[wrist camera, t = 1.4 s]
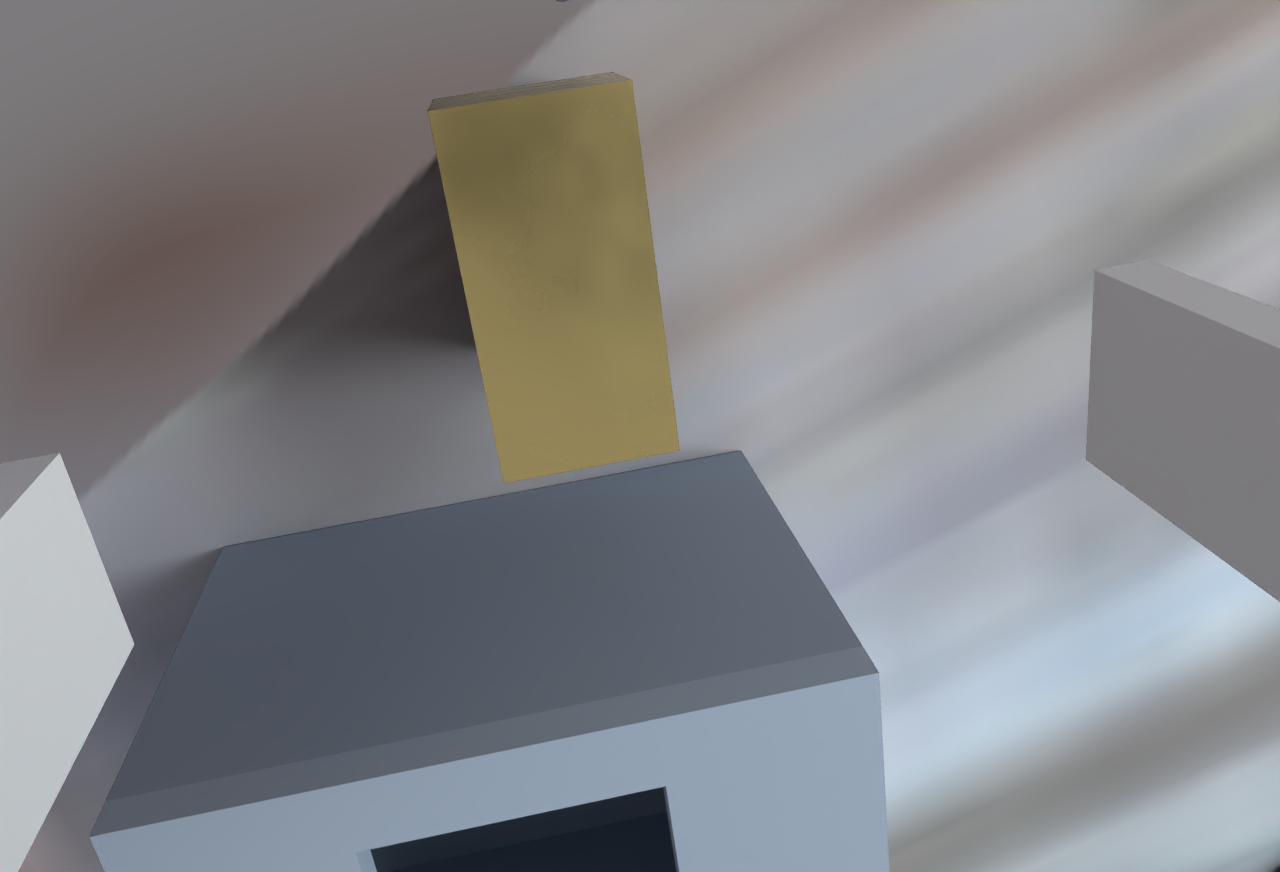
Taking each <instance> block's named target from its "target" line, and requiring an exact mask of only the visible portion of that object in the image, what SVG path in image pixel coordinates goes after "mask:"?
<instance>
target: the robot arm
mask: <svg viewBox="0 0 1280 872" xmlns="http://www.w3.org/2000/svg"><path fill="white" fill-rule="evenodd" d="M1086 460H1087V461H1089V462H1090V463H1091V464H1093V465H1094V466H1095V467H1097V468H1098V469H1099V470H1101V471H1102V472H1103V473H1105V474H1106V475H1108V476H1109V477H1110V478H1112V479H1113V480H1114V481H1116V482H1117V483H1118V484H1120V485H1121V486H1123V487H1124V488H1125V489H1127V490H1128V491H1129V492H1131V493H1132V494H1133V495H1135V496H1136V497H1138V498H1139V499H1140V500H1142V501H1143V502H1144V503H1146V504H1147V505H1148V506H1150V507H1151V508H1153V509H1154V510H1155V511H1157V512H1158V513H1159V514H1161V515H1162V516H1163V517H1165V518H1166V519H1168V520H1169V521H1170V522H1172V523H1173V524H1174V525H1176V526H1177V527H1178V528H1180V529H1181V530H1183V531H1184V532H1185V533H1187V534H1188V535H1189V536H1191V537H1192V538H1193V539H1195V540H1196V541H1198V542H1199V543H1200V544H1202V545H1203V546H1204V547H1206V548H1207V549H1208V550H1210V551H1211V552H1213V553H1214V554H1215V555H1217V556H1218V557H1219V558H1221V559H1222V560H1223V561H1225V562H1226V563H1228V564H1229V565H1230V566H1232V567H1233V568H1234V569H1236V570H1237V571H1238V572H1240V573H1241V574H1242V575H1244V576H1245V577H1247V578H1248V579H1249V580H1251V581H1252V582H1253V583H1255V584H1256V585H1257V586H1259V587H1260V588H1262V589H1263V590H1264V591H1266V592H1267V593H1268V594H1270V595H1271V596H1272V597H1274V598H1275V599H1277V600H1278V601H1279V602H1280V309H1278V308H1275V307H1272V306H1270V305H1267V304H1264V303H1262V302H1259V301H1256V300H1254V299H1251V298H1248V297H1246V296H1243V295H1240V294H1238V293H1235V292H1232V291H1230V290H1227V289H1224V288H1222V287H1219V286H1216V285H1214V284H1211V283H1208V282H1206V281H1203V280H1200V279H1198V278H1195V277H1192V276H1190V275H1187V274H1184V273H1182V272H1179V271H1176V270H1174V269H1171V268H1168V267H1166V266H1163V265H1160V264H1158V263H1155V262H1152V261H1150V260H1148V261H1142V262H1137V263H1131V264H1125V265H1120V266H1114V267H1108V268H1103V269H1097V270H1094V291H1093V313H1092V335H1091V357H1090V379H1089V401H1088V423H1087V445H1086ZM133 646H134V642H133V639H132V637H131V634H130V632H129V629H128V627H127V624H126V622H125V619H124V616H123V614H122V611H121V609H120V606H119V604H118V601H117V599H116V596H115V593H114V591H113V588H112V586H111V583H110V581H109V578H108V576H107V573H106V570H105V568H104V565H103V563H102V560H101V558H100V555H99V553H98V550H97V547H96V545H95V542H94V540H93V537H92V535H91V532H90V530H89V527H88V524H87V522H86V519H85V517H84V514H83V512H82V509H81V507H80V504H79V501H78V499H77V496H76V494H75V491H74V489H73V486H72V484H71V481H70V479H69V476H68V473H67V471H66V468H65V466H64V463H63V461H62V458H61V456H60V453H57V454H51V455H45V456H40V457H34V458H28V459H22V460H17V461H11V462H5V463H0V872H18V871H19V869H20V867H21V865H22V863H23V862H24V860H25V858H26V856H27V854H28V852H29V850H30V848H31V846H32V844H33V842H34V840H35V838H36V836H37V834H38V832H39V830H40V828H41V826H42V824H43V822H44V820H45V818H46V817H47V815H48V813H49V811H50V809H51V807H52V805H53V803H54V801H55V799H56V797H57V795H58V793H59V791H60V789H61V787H62V785H63V783H64V781H65V779H66V777H67V775H68V773H69V772H70V770H71V768H72V766H73V764H74V762H75V760H76V758H77V756H78V754H79V752H80V750H81V748H82V746H83V744H84V742H85V740H86V738H87V736H88V734H89V732H90V730H91V728H92V727H93V725H94V723H95V721H96V719H97V717H98V715H99V713H100V711H101V709H102V707H103V705H104V703H105V701H106V699H107V697H108V695H109V693H110V691H111V689H112V687H113V685H114V683H115V682H116V680H117V678H118V676H119V674H120V672H121V670H122V668H123V666H124V664H125V662H126V660H127V658H128V656H129V654H130V652H131V650H132V648H133Z"/></svg>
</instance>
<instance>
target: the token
mask: <svg viewBox="0 0 1280 872" xmlns="http://www.w3.org/2000/svg"><path fill="white" fill-rule="evenodd" d="M428 115H429V120H430V125H431V130H432V135H433V140H434V144H435V150H436V155H437V159H438V164H439V169H440V174H441V179H442V184H443V189H444V193H445V198H446V203H447V208H448V213H449V218H450V223H451V228H452V232H453V237H454V242H455V247H456V252H457V257H458V262H459V267H460V271H461V276H462V281H463V286H464V291H465V296H466V301H467V306H468V310H469V315H470V320H471V325H472V330H473V335H474V340H475V345H476V349H477V354H478V359H479V364H480V369H481V374H482V379H483V384H484V388H485V393H486V398H487V403H488V408H489V413H490V418H491V423H492V427H493V432H494V437H495V442H496V447H497V452H498V457H499V461H500V466H501V471H502V476H503V481H504V483H508V482H513V481H519V480H524V479H529V478H535V477H540V476H546V475H551V474H556V473H562V472H567V471H573V470H578V469H583V468H589V467H594V466H600V465H605V464H610V463H616V462H621V461H627V460H632V459H637V458H643V457H648V456H654V455H659V454H664V453H670V452H675V451H680V448H679V440H678V432H677V425H676V417H675V409H674V401H673V394H672V386H671V378H670V371H669V363H668V355H667V347H666V340H665V332H664V324H663V317H662V309H661V301H660V293H659V286H658V278H657V270H656V262H655V255H654V247H653V239H652V232H651V224H650V216H649V208H648V201H647V193H646V185H645V178H644V170H643V162H642V154H641V147H640V139H639V131H638V124H637V116H636V108H635V100H634V93H633V85H632V80H631V79H628V78H626V77H624V76H621V75H619V74H616V73H614V72H609V73H602V74H596V75H589V76H583V77H576V78H570V79H563V80H556V81H550V82H543V83H537V84H530V85H523V86H517V87H510V88H504V89H497V90H491V91H484V92H478V93H471V94H464V95H458V96H451V97H445V98H438V99H433V100H432V103H431V104H430V107H429V109H428Z"/></svg>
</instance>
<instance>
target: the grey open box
mask: <svg viewBox="0 0 1280 872" xmlns="http://www.w3.org/2000/svg"><path fill="white" fill-rule="evenodd" d="M89 838H90V841H91V843H92V845H93V847H94V850H95V852H96V854H97V856H98V859H99V861H100V863H101V865H102V868H103V870H104V872H889V855H888V836H887V816H886V797H885V778H884V758H883V739H882V720H881V701H880V681H879V672H878V670H877V669H876V667H875V665H874V664H873V662H872V661H871V659H870V657H869V656H868V654H867V653H866V651H865V649H864V648H863V646H862V645H861V643H860V641H859V640H858V638H857V636H856V635H855V633H854V632H853V630H852V628H851V627H850V625H849V624H848V622H847V620H846V619H845V617H844V616H843V614H842V612H841V611H840V609H839V607H838V606H837V604H836V603H835V601H834V599H833V598H832V596H831V595H830V593H829V591H828V590H827V588H826V587H825V585H824V583H823V582H822V580H821V578H820V577H819V575H818V574H817V572H816V570H815V569H814V567H813V566H812V564H811V562H810V561H809V559H808V558H807V556H806V554H805V553H804V551H803V549H802V548H801V546H800V545H799V543H798V541H797V540H796V538H795V537H794V535H793V533H792V532H791V530H790V529H789V527H788V525H787V524H786V522H785V520H784V519H783V517H782V516H781V514H780V512H779V511H778V509H777V508H776V506H775V504H774V503H773V501H772V500H771V498H770V496H769V495H768V493H767V491H766V490H765V488H764V487H763V485H762V483H761V482H760V480H759V479H758V477H757V475H756V474H755V472H754V471H753V469H752V467H751V466H750V464H749V462H748V461H747V459H746V458H745V456H744V454H743V453H742V451H737V452H731V453H726V454H721V455H715V456H710V457H704V458H699V459H694V460H688V461H683V462H678V463H672V464H667V465H662V466H656V467H651V468H645V469H640V470H635V471H629V472H624V473H619V474H613V475H608V476H603V477H597V478H592V479H586V480H581V481H576V482H570V483H565V484H560V485H554V486H549V487H544V488H538V489H533V490H527V491H522V492H517V493H511V494H506V495H501V496H495V497H490V498H484V499H479V500H474V501H468V502H463V503H458V504H452V505H447V506H442V507H436V508H431V509H425V510H420V511H415V512H409V513H404V514H399V515H393V516H388V517H383V518H377V519H372V520H366V521H361V522H356V523H350V524H345V525H340V526H334V527H329V528H324V529H318V530H313V531H307V532H302V533H297V534H291V535H286V536H281V537H275V538H270V539H264V540H259V541H254V542H248V543H243V544H238V545H232V546H227V547H223V548H222V550H221V552H220V554H219V556H218V559H217V561H216V563H215V565H214V567H213V569H212V572H211V574H210V576H209V578H208V580H207V582H206V585H205V587H204V589H203V591H202V593H201V595H200V598H199V600H198V602H197V604H196V606H195V608H194V611H193V613H192V615H191V617H190V619H189V621H188V624H187V626H186V628H185V630H184V632H183V634H182V637H181V639H180V641H179V643H178V645H177V647H176V650H175V652H174V654H173V656H172V658H171V660H170V663H169V665H168V667H167V669H166V671H165V673H164V676H163V678H162V680H161V682H160V684H159V686H158V689H157V691H156V693H155V695H154V697H153V699H152V702H151V704H150V706H149V708H148V710H147V712H146V715H145V717H144V719H143V721H142V723H141V725H140V728H139V730H138V732H137V734H136V736H135V738H134V741H133V743H132V745H131V747H130V749H129V751H128V754H127V756H126V758H125V760H124V762H123V764H122V767H121V769H120V771H119V773H118V775H117V777H116V780H115V782H114V784H113V786H112V788H111V790H110V793H109V795H108V797H107V799H106V801H105V803H104V806H103V808H102V810H101V812H100V814H99V816H98V819H97V821H96V823H95V825H94V827H93V829H92V832H91V834H90V836H89Z"/></svg>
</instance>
